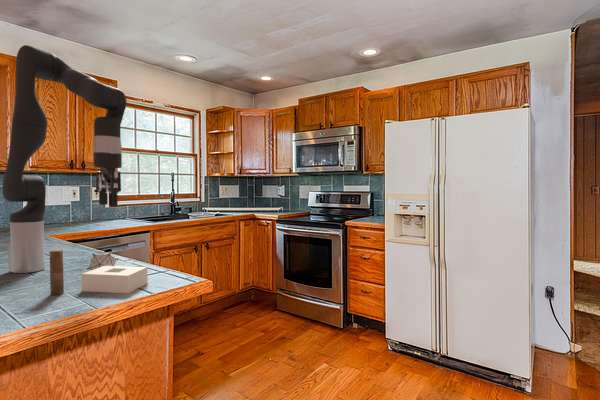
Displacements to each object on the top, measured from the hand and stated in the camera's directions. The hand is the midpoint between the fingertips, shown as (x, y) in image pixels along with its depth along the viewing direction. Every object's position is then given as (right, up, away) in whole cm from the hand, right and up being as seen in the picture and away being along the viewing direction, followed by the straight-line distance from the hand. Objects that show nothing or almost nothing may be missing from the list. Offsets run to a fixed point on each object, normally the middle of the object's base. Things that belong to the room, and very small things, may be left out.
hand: (108, 205), depth 105 cm
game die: (-7, -24, +9) cm, 26 cm away
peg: (-9, -24, -10) cm, 28 cm away
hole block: (+4, -24, -3) cm, 25 cm away
